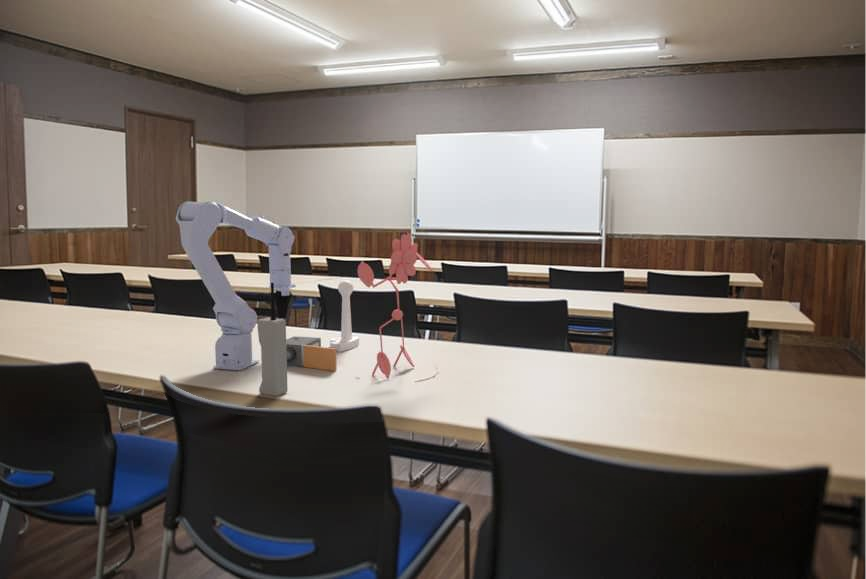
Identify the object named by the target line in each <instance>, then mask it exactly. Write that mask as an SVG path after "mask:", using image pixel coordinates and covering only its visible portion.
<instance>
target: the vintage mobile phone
mask: <svg viewBox="0 0 866 579" xmlns="http://www.w3.org/2000/svg"><path fill="white" fill-rule="evenodd" d="M270 293H271V296H270V300H271V301H270V302H271V303H270V317H265V318H259V319H257V323H256V325H257V333H258V334H257V335H258V342H259V345H260V355H261V357H260V358H261V383H260V386H259V388H258V392H259V394H261V395H265V396H271V397H279V396H281V394H282V395H284V394H287V393H288V390H289V389H288V365H287V351H286V339H287V329H286V328H287V324H286V323H287V320H286V318H280V319H279V318H278V317H277V316H276V309H275V304H274V293H275V290H274V283H273V282H272V283H271V289H270ZM276 317H277V318H276Z"/></svg>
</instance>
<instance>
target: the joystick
mask: <svg viewBox="0 0 866 579" xmlns="http://www.w3.org/2000/svg"><path fill="white" fill-rule="evenodd" d="M337 289H338V292H339V294H340V295H341V300H342V301H341V326H340V327H341V328H340V330H341V332H340V337H332V338H330V340H329V345H330V346H329V348H334V349H336V352H340V353H341V352H344V351H349V350H353V349H354V348H357V347H358V346H359V345H360V337H359V336H353V334H352V333H353V331H352V314H351V295H352V293H353V292H354V284H353V283H352V281H350V280H348V279H347V280H346V279H344V280H342V281H340V282H339V283H338V286H337Z"/></svg>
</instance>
